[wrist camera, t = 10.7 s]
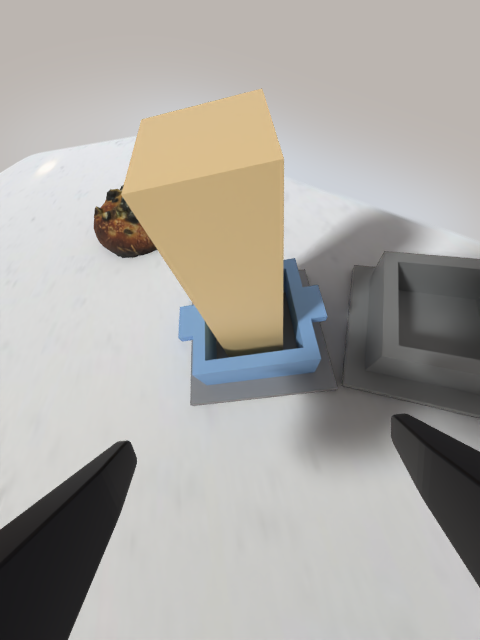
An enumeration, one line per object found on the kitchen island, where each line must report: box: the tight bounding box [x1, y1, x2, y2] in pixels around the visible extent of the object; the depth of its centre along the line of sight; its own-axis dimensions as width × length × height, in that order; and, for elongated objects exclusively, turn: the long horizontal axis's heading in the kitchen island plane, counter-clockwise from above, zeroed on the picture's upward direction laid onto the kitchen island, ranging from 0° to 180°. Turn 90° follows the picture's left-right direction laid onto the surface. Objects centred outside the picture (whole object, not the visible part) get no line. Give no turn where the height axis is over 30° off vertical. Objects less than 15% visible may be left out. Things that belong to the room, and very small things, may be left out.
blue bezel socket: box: [179, 258, 338, 406], centre depth 17 cm, size 10×10×4 cm
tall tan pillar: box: [121, 89, 284, 357], centre depth 12 cm, size 4×4×13 cm
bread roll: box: [94, 185, 157, 258], centre depth 26 cm, size 11×11×5 cm
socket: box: [342, 251, 480, 418], centre depth 15 cm, size 10×10×4 cm
